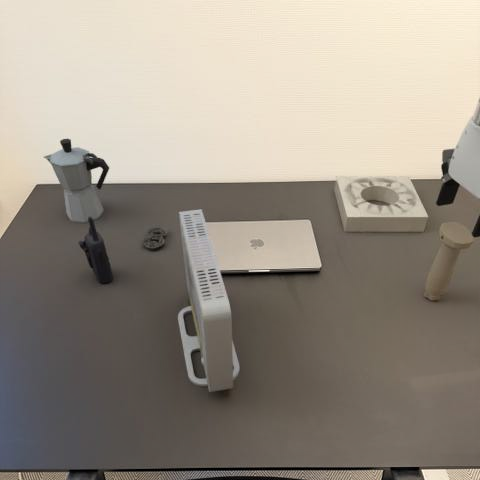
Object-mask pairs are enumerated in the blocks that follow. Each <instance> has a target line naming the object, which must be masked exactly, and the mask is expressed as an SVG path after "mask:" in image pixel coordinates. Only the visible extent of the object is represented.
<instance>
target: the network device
mask: <svg viewBox="0 0 480 480" xmlns="http://www.w3.org/2000/svg"><path fill="white" fill-rule="evenodd" d="M178 217H179V226H180V227H179V228H180V235H181V243H182V252H183V253H182V254H183V261H184V271H185V279H186V280H185V281H186V287H187V294H188V299H189V303H190V305H189V306H186V307H184V308H182V309H181V310H180V311H179V313H178V315H177V320H178V321H177V322H178V327H179V333H180V339H181V343H182V349H183V350H182V351H183V355H184V360H185V361H184V362H185V366H186V367H185V368H186V372H187V376H188V379H189V381H190V382H191V383H192V384H194V385H195V386H197V387H207V388H208V389H207V390H208V392H209V393H214V392H220V391H224V390H231V389H234V381H235V380H236V378H237V377H238V376H239V374H240V363H239V359H238V356H237V352H236V349H235V344H234V341H233V320H232V319H233V318H232V317H233V316H232V310H231V305H230V301H229V298H228V293H227V291H226V287H225V284H224V281H223V280H224V279H223V276H222V273H221V270H220V267H219V266H220V265H219V263H218V261H217V257H216V254H215V250H214V246H213V243H212V239H211V236H210V233H209V229H208V226H207V222H206V219H205V216H204V213H203V209H193V210H185V211H184V210H183V211H178ZM191 313H192V316H193V317H192V318H193V323H194V327H195V332H196V335H194V336H191V335H188V334H187V331H186V326H185V325H186V324H185V320H184V316H185V315H187V314H191ZM198 351H200V355H201V357H200V360H201V361H200V362H201V366H203V369H204V374H205V377H204V378H198V377H196V375H195V372H194V367H193V361H192V354H193V353H194V352H198Z"/></svg>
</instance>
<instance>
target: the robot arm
mask: <svg viewBox="0 0 480 480" xmlns="http://www.w3.org/2000/svg"><path fill="white" fill-rule="evenodd" d="M441 153H442V154H441V162H442V163H441V165H440V166H441V167H440V168H441V174H442V176H441V177H440V182H441V183H442V185H441V187H440V190H439V192H438V196H437V199H436V201H435V205H436V206H437V207H442V206H448V205H452V204H454V202H455V199H456V196H457V194H458V191H459V189H460V186H462V187H463V188H464V189H465V190H467V191H468V192H469V193H470V194H471V195H473V197H476V198H477V199H478V200H480V97H479V98H478V100H477V103H476V106H475V109H474V112H473V115H472V116H470V118H469V120H468V121H467V123H466V125H465V127H464V128H463V130H462V132H461V134H460V136H459V138H458V141H457V143H456V145H455V148H454V147H453V148H446V149H443V150H442V152H441ZM472 229H473V230H472V231H471V233H472V236H473V239H474V238H479V237H480V214H479V216H478V218H477V219H476V222H475V225H474V227H473V228H472Z"/></svg>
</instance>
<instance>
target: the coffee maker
mask: <svg viewBox="0 0 480 480" xmlns="http://www.w3.org/2000/svg"><path fill="white" fill-rule="evenodd" d="M59 144H60V145H61V147H62V148H61V149H59V150H57V151H56V152H54V153H51V154H47V155H44V156H43V158H44V159H46V160H47V162H49V164H50V165H51V167H52V170H53V172H54V174H55V176H56V178H57V180H58V183H59V184H60V186H61V188H63V197H64V204H65V212H66V216H67V217H68V219H69V220H70V222H72V223H79V224H81V223H82V224H87V223H89V221H88V217H89V216H91V217H92V219H93V221H95V220H98V219H100V217H101V216H102V215H103V213H104V212H105V210H104V207H103V205H102V202H101V200H100V198H99V196H98V194H97V192H96V189H95V187H96V188H97V189H98V190H101V189H102V187H103V185H104V182H105V180H106V177H107V175H108V173H109V170H110V166H109V165H108V163H107V162H106V160H105V159H104V158H101V157H98V156H97V155H96V154H95V153H94V152H93V153H92V152H90V151H89V150H87V149H84V148H81V147H78V146H77V147H73V146H72V139H70V138H63V139H60V141H59ZM98 168H101V169H102V171H101V174H100V176H99V178H98V181H97V183H96V185H95V187H94V185H93V183H92V178H93V176H92V170H95V169H98Z"/></svg>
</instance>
